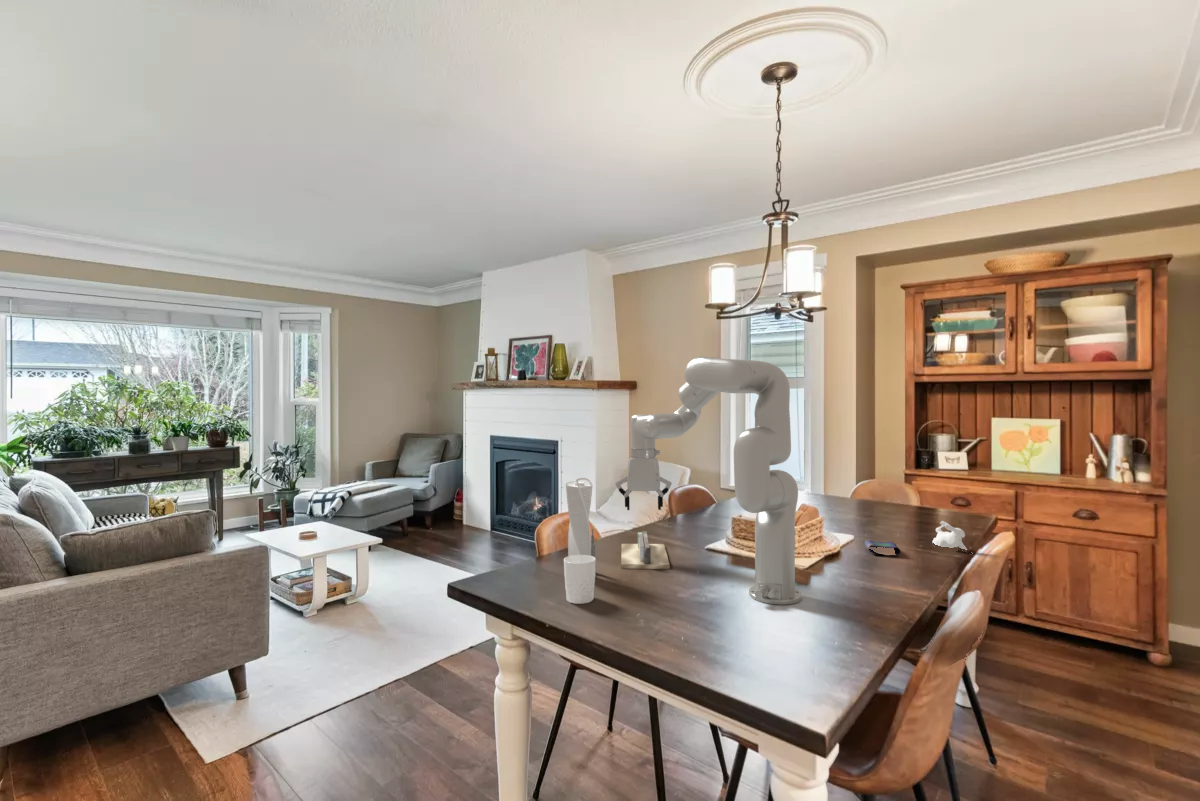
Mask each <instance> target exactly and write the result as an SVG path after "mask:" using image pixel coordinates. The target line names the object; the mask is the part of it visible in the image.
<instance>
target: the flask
mask: <svg viewBox="0 0 1200 801" xmlns="http://www.w3.org/2000/svg"><path fill="white" fill-rule="evenodd" d="M864 546H865V547H866V549H867V550H868V551H869V552H870V553H871V554H875V555H877V554H876V552H874V551H873V550H871V549H869V547H876V548H877V547H883V548H884V547H885V548H894V550H895V554H896V555H897V556H900V555H901V552H902V550H901V549H900V548H899V546H897V544H896V543H894V542H893V541H879V540H878V541H874V540H870V539H866V540H865V541H864Z"/></svg>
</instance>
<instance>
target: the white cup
mask: <svg viewBox="0 0 1200 801" xmlns="http://www.w3.org/2000/svg"><path fill="white" fill-rule="evenodd" d="M596 560H597V559H596V556H595V557H593V556H589V555H572V556H566V557H564V558H563V571H564V572H563V574H564V584H565V585H564V587H565V598H566V601H567V602H568V603H570V604H571V603H572V604H575V605H576V604H577V605H578V604H579V605H582V604H588V603H591V602H592V601H593V600H594V599H595V598H594V597H595V585H596V583H595V582H596V579H595V564H596V565H597V561H596Z"/></svg>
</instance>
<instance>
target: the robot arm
mask: <svg viewBox="0 0 1200 801" xmlns="http://www.w3.org/2000/svg"><path fill="white" fill-rule="evenodd" d="M684 378H685V383H683V384H682V385H681V386H680V387H679V389H678V397H679V400H680V402H681V403H682V405H681V406H679V408H678V409H677V410H675V411H674V412H672V413H671V412H670V413H667V412H666V413H653V414H652V413H651V414H648V413H647V414H646V413H645V414H644V413H643V414H640V413H639V414H633V415H632V416H631V418H630V458H628V460H627V467H626V472H627V473H626V476H625V477H623V478H621V479H620V480H617V481H616V482H615V487H616V488H617V491H618V492H619V493H620V494H621V495H622V496H623V497H624V507H625V508H626V510H627V511H630V496H629V495H630V494H631V493H632V492H656V493H657V494H658V495H657V510H659V511H662V508H664V499H663V498H664V496H665V495H666V494H667V493H668V492H669V490H670V488H671V486H672V484H673V483H672V482H671V481H670V480H668V479H666V478H664V477H662V476H661V475H660V467H659V466H660V465H659V460H658V458H657V457H656V456H659V455H661V450H659V449H656V440H661V439H662V440H663V439H675V438H680V437H681V436H683V435H684V434H686V433H688V431H689V430H691V428H693V427H694V426H695V425H696V423H697V422H698V420H699V419H700V417H701V413H702V409H703V408H704V407H705V406H706V405H707V404H708V403H709V402H710V401H712V399H714V398H715V397H716V396H717V395H718V394H720V393H726V394H728V393H729V394H756V395H758V399H757V400H756V403H755V407H754V427H752V428H748V429H745V430H744V431H741V433H739V435H738V437H737V438H736V440H735V442H734V446H733V474H734V475H733V476H734V479H733V480H734V492H735V498H736V501H737V503H738V504H739V506H740V507H741V508H742V509H743V511H746V512H748V513H750V514H756V516H755V522H754V523H755V524H754V568H755V569H754V570H755V571H754V572H755V573H754V574H755V575H754V576H755V578H754V580H755V582H754V585H753V586H751V587H749V589H748V595H749V597H751V598H752V599H753V600H755V601H757V602H759V603H760V602H761V603H763V604H765V603H766V604H770V605H781V606H785V605H793V604H797V603H799V602H801V600H802V592H800V591H799V590H798V589H796V588H795V587H796V571H795V570H796V568H795V567H796V566H795V565H796V564H795V562H796V561H795V560H796V559H795V558H796V556H795V555H796V554H795V549H796V548H795V541H796V540H795V538H796V537H795V536H796V535H795V534H796V533H795V532H796V531H795V530H796V527H795V526H796V525H795V523H796V512H797V506H798V499H799V487H798V483H797V481H796V479H795V478H794V477H793V476H792V475H791V474H790V473H788V472H787V471H785V470H780V469H771V467H770V466H774V465H775V466H776V465H780V464H783V463H785V462H786V461H787V460H788V459H789V458H790V456H791V452H792V439H791V438H792V436H791V435H792V434H791V415H790V413H791V412H790V396H791V395H790V394H791V392H790V391H791V390H790V389H791V388H790V382H789V379H788V377H787V375H786V373H785V372H784V371H783V370H782V369H781V368H780V367H778V366H777V365H775V364H773V363H770V362H767V361H762V360H748V359H734V358H721V357H714V356H696V357H694V358H692V359H691V360H690V361H689V362H688V363H687V365H686V366H685V369H684ZM625 483H626V486H627V489H626V490H624V488H623V487H622V485H623V484H625ZM661 483H663V484H665V486H664V488H663V489H662V490H661V489H660V488H661Z"/></svg>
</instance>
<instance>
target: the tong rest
mask: <svg viewBox="0 0 1200 801" xmlns="http://www.w3.org/2000/svg"><path fill="white" fill-rule="evenodd" d="M642 535H643V542H644V561H640V556H639V548H638V543H621V552H620V553H621V554H620V558H621V559H620V568H621V569H639V570H641V569H645V570H646V569H647V570H670V569H671V568H670V566H671V565H670V560H669V558H668V553H667V549H666V547H665V544H664V543H649V539H648V531H647V530H642Z"/></svg>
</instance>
